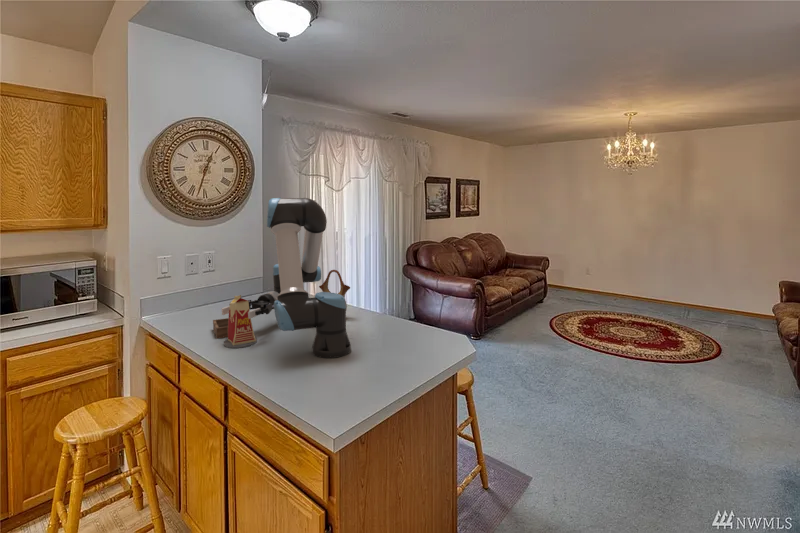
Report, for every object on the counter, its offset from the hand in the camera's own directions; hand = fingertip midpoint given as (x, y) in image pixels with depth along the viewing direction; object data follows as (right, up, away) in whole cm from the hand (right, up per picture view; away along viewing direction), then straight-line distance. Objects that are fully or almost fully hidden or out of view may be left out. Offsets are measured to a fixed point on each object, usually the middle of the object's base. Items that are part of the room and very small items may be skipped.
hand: (235, 313), depth 171 cm
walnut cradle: (-9, -10, +18) cm, 22 cm away
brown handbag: (+35, -7, +39) cm, 53 cm away
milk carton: (+1, -12, +4) cm, 13 cm away
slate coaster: (+1, -13, +4) cm, 13 cm away
